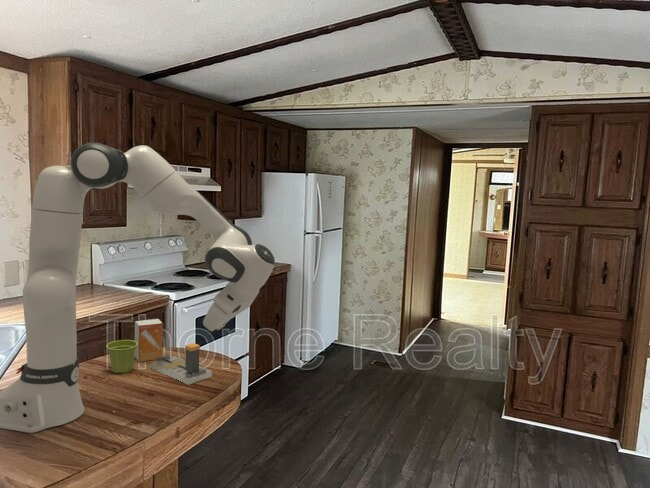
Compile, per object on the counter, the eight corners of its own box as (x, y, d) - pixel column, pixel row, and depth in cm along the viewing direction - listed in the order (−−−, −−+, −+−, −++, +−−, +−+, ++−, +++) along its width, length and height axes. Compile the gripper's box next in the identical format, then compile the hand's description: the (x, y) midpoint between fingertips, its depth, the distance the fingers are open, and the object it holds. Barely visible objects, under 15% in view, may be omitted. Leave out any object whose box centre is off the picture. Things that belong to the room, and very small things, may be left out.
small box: (138, 362, 161) (138, 325, 160) (134, 357, 166) (134, 320, 165) (162, 359, 166) (163, 322, 164) (158, 353, 171) (158, 318, 170)
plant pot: (143, 369, 156) (144, 343, 155) (118, 378, 148) (117, 351, 147) (126, 362, 161) (126, 338, 160) (100, 371, 153) (100, 345, 152)
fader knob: (199, 370, 151) (199, 345, 150) (191, 373, 148) (191, 347, 147) (193, 367, 152) (193, 343, 152) (184, 370, 150) (185, 345, 149)
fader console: (212, 377, 151) (212, 367, 151) (188, 385, 144) (188, 375, 144) (173, 361, 164) (173, 352, 164) (150, 368, 157) (150, 359, 156)
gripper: (250, 276, 146) (230, 308, 151) (211, 298, 127) (190, 333, 133) (265, 289, 145) (244, 321, 150) (228, 313, 126) (206, 347, 132)
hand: (218, 327), depth 141 cm, fingers closed
